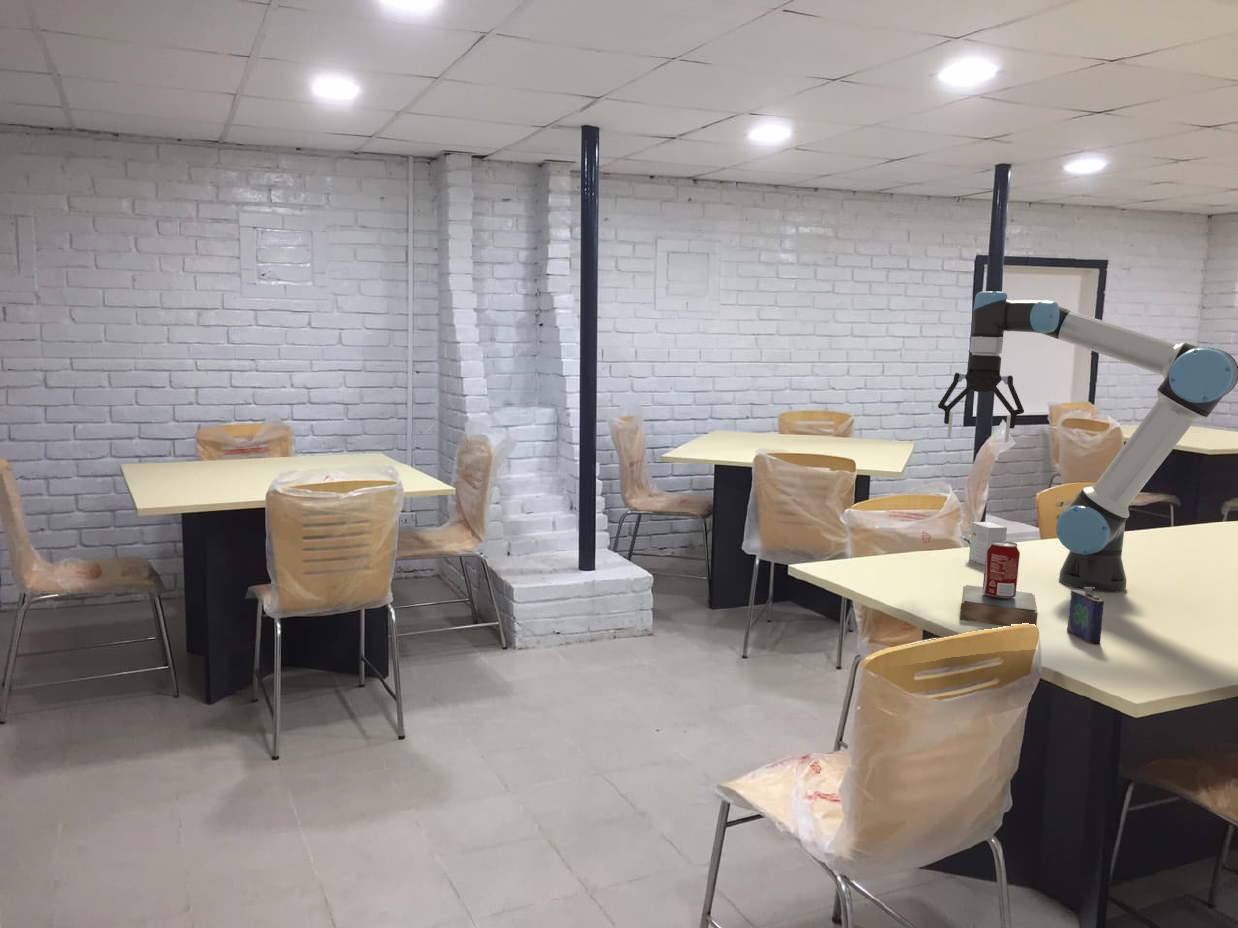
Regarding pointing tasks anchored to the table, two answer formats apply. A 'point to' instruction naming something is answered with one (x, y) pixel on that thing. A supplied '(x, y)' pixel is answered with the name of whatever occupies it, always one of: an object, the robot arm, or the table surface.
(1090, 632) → the flask
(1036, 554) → the table surface
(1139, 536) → the table surface
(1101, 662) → the table surface
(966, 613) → the riser
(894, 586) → the table surface
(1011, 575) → the soda can
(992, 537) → the small box
